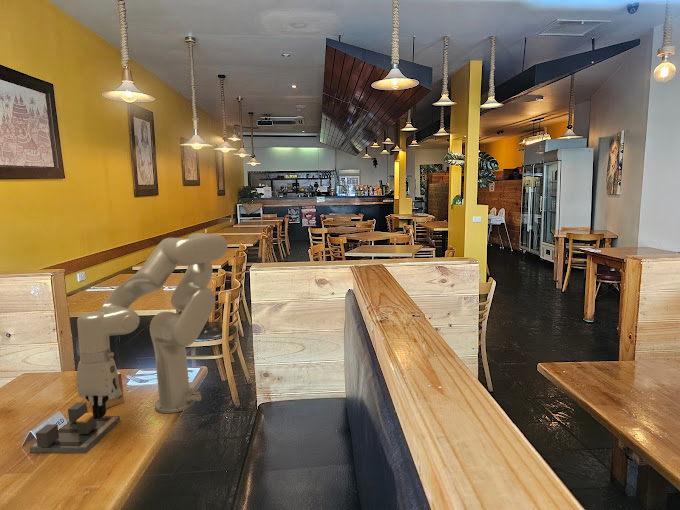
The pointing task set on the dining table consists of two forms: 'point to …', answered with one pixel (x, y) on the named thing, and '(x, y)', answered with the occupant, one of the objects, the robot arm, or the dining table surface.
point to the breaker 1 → (47, 435)
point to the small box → (120, 397)
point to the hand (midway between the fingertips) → (99, 416)
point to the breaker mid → (86, 423)
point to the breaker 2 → (77, 411)
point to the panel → (78, 437)
